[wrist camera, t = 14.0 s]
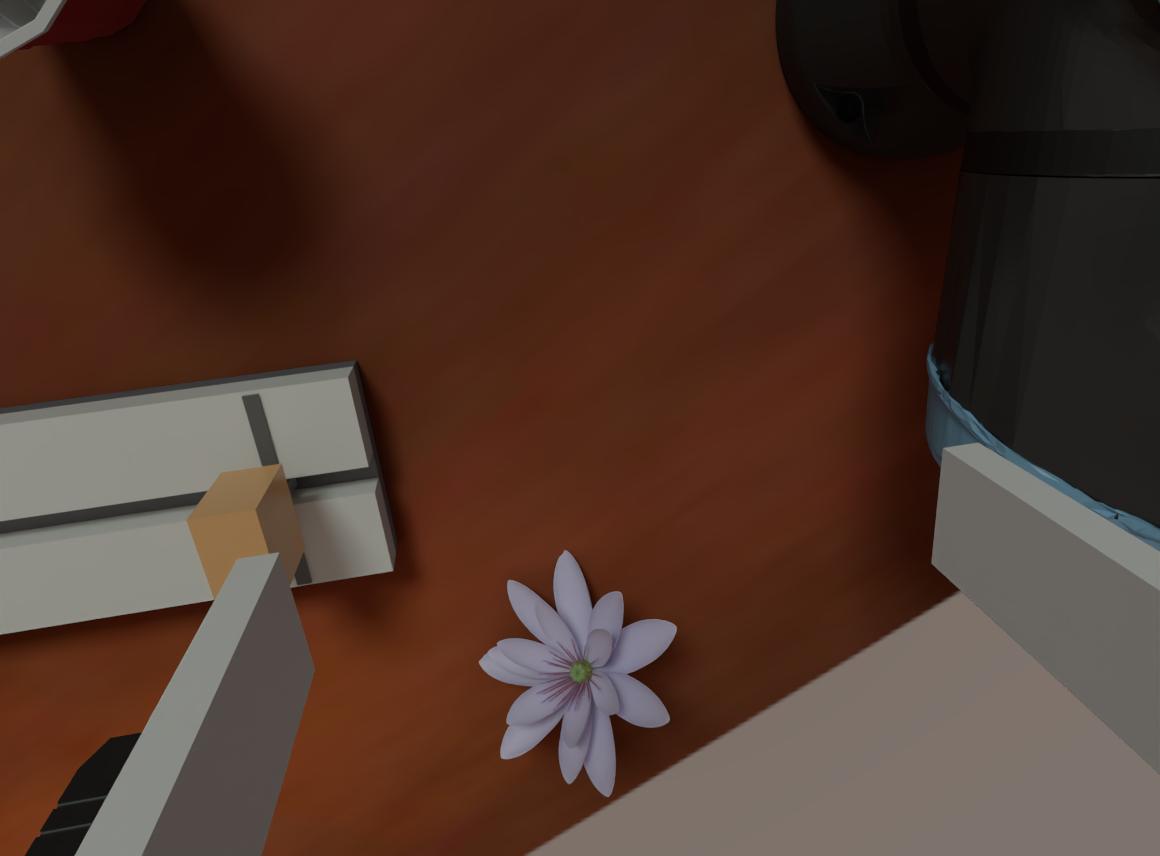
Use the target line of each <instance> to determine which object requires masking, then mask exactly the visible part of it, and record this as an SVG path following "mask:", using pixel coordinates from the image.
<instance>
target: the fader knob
mask: <svg viewBox="0 0 1160 856" xmlns="http://www.w3.org/2000/svg"><path fill="white" fill-rule="evenodd" d="M296 486H297V481H296V478H290V479H286V477H285V473H284V470H283V466H282V464H276V465H269V466H262V467H256V468H249V469H242V470H235V471H228V472H221V474H220V475H219V476H218V478H217V479H216V480H215V482H214V483H213V485H212V486H211V487H210V489H209V490H208V491H207V493H206V494H205V495H204V497H203V498H202V499H201V501H200V502H199V504H198V505H197V506H196V508H195V509H194V510H193V512H192V513H191V514H190V516H189V517H188V519H187V520H186V521H187V523H188V526H189V529H190V532H191V535H192V538H193V541H194V543H195V546H196V549H197V552H198V555H199V558H200V560H201V563H202V566H203V569H204V572H205V575H206V577H207V580H208V583H209V586H210V589H211V592H212V595H213V597H214V600H215V599H216V597H217V595H218V593H219V591H220V589H221V588H222V586H223V584H224V582H225V580H226V578H227V577H228V575H229V573H230V571H231V569H232V567H233V566H234V564H235V562H236V560H237V559H239V558H246V557H252V556H258V555H265V554H271V553H278V552H280V555H281V558H282V562H283V565H284V568H285V572H286V575H287V578H288V582H289V585H291V582H292V580H293V577H294V575H295V572H296V570H297V567H298V565H299V562H300V560H301V557H302V555H303V552H304V550H305V544H304V540H303V537H302V533H301V530H300V526H299V523H298V519H297V516H296V512H295V509H294V505H293V502H292V498H291V496H292V494H293V492H294V490H295V488H296Z"/></svg>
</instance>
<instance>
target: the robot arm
mask: <svg viewBox="0 0 1160 856" xmlns="http://www.w3.org/2000/svg"><path fill="white" fill-rule="evenodd" d="M776 33H777V43H778V49H779V55H780V59H781V64H782V67H783V70H784V74H785V77H786V79H787V82H788V84H789V87H790V89H791V91H792V93H793V95H794V97H795V99H796V101H797V102H798V104H799V106H800V107H801V109H802V110H803V112H804V113H805V114H806V116H807V117H808V118H809V119H810V120H811V122H812V123H813V124H814V125H815V126H816V127H817V128H818V129H819V130H820V131H822V132H823V133H824V134H825V135H826V136H828V137H829V138H830V139H832V140H833V141H835V142H836V143H838V144H840V145H841V146H843V147H846V148H848V149H850V150H852V151H855V152H858V153H861V154H865V155H869V156H874V157H882V158H900V159H915V158H925V157H932V156H936V155H940V154H944V153H948V152H951V151H954V150H957V149H960V148H962V147H964V153H963V160H962V166H961V169H960V174H959V180H958V187H957V194H956V200H955V207H954V214H953V220H952V227H951V234H950V240H949V247H948V254H947V260H946V267H945V274H944V280H943V287H942V294H941V300H940V307H939V314H938V320H937V327H936V334H935V340H934V343H933V344H931V345H930V347H929V350H928V353H927V364H926V366H927V371H928V375H929V387H928V399H927V412H926V423H925V431H926V438H927V443H928V446H929V449H930V451H931V453H932V455H933V457H934V459H935V460H936V462H937V463H938V464H939V466H940V467H941V473H940V483H939V493H938V503H937V512H936V522H935V532H934V542H933V552H932V562H931V564H933V565H934V566H935V567H936V568H937V569H938V570H939V571H940V572H941V573H942V574H943V575H944V576H946V577H947V578H948V579H949V580H950V581H951V582H952V583H953V584H954V585H955V586H956V587H957V588H958V589H960V590H961V591H962V592H963V593H964V594H965V595H966V596H967V597H968V598H969V599H971V600H972V601H973V602H974V603H975V604H976V605H977V606H978V607H979V608H980V609H981V610H982V611H984V613H986V614H987V615H988V616H989V617H990V618H991V619H992V620H993V621H994V622H995V623H996V624H998V625H999V626H1000V627H1001V628H1002V629H1003V630H1004V631H1005V632H1006V633H1007V634H1008V635H1010V636H1011V637H1012V638H1013V639H1014V640H1015V641H1016V642H1017V643H1018V644H1019V645H1020V646H1021V647H1023V649H1025V650H1026V651H1027V652H1028V653H1029V654H1030V655H1031V656H1032V657H1033V658H1034V659H1036V661H1038V662H1039V663H1040V664H1041V665H1042V666H1043V667H1044V668H1045V669H1046V670H1047V671H1048V672H1049V673H1051V674H1052V675H1053V676H1054V677H1055V678H1056V679H1057V680H1058V681H1059V682H1060V683H1061V684H1062V685H1064V686H1065V687H1066V688H1067V689H1068V690H1069V691H1070V692H1071V693H1072V694H1073V695H1075V697H1077V698H1078V699H1079V700H1080V701H1081V702H1082V703H1083V704H1084V705H1085V706H1086V707H1087V708H1089V709H1090V710H1091V711H1092V712H1093V713H1094V714H1095V715H1096V716H1097V717H1098V718H1099V719H1100V720H1101V721H1103V722H1104V723H1105V724H1106V725H1107V726H1108V727H1109V728H1110V729H1111V730H1112V731H1113V732H1114V733H1115V734H1117V735H1118V736H1119V737H1120V738H1121V739H1122V740H1123V741H1124V742H1125V743H1126V744H1127V745H1129V746H1130V747H1131V748H1132V749H1133V750H1134V751H1135V752H1136V753H1137V754H1138V755H1139V756H1140V757H1141V758H1143V759H1144V760H1145V761H1146V762H1147V763H1148V764H1149V765H1150V766H1151V767H1152V768H1153V769H1154V770H1156V771H1157V772H1158V773H1159V774H1160V0H777V2H776ZM314 671H315V668H314V665H313V661H312V658H311V655H310V651H309V648H308V645H307V641H306V638H305V635H304V631H303V628H302V625H301V621H300V618H299V615H298V611H297V608H296V605H295V601H294V598H293V595H292V592H291V588H290V585H289V582H288V578H287V575H286V572H285V568H284V565H283V562H282V558H281V555H280V552H278V553H271V554H265V555H258V556H252V557H246V558H239V559H237V560H236V562H235V564H234V566H233V567H232V569H231V571H230V573H229V575H228V577H227V578H226V580H225V582H224V584H223V586H222V588H221V589H220V591H219V593H218V595H217V597H216V599H215V600H214V602H213V604H212V606H211V608H210V609H209V611H208V613H207V615H206V617H205V619H204V620H203V622H202V624H201V626H200V628H199V630H198V631H197V633H196V635H195V637H194V639H193V641H192V642H191V644H190V646H189V648H188V650H187V651H186V653H185V655H184V657H183V659H182V661H181V662H180V664H179V666H178V668H177V670H176V672H175V673H174V675H173V677H172V679H171V681H170V682H169V684H168V686H167V688H166V690H165V692H164V693H163V695H162V697H161V699H160V701H159V703H158V704H157V706H156V708H155V710H154V712H153V714H152V715H151V717H150V719H149V721H148V723H147V724H146V726H145V728H144V730H143V732H142V733H137V734H131V735H125V736H120V737H114V738H110V739H109V740H108V741H107V742H106V743H105V744H104V745H103V746H102V747H101V748H100V749H99V750H98V751H97V752H96V753H94V754H93V755H92V756H91V757H90V758H89V759H88V760H87V761H86V762H85V763H84V764H83V765H82V766H81V767H80V768H79V769H78V770H77V772H76V773H75V775H74V777H73V778H72V780H71V782H70V783H69V785H68V786H67V788H66V790H65V791H64V793H63V795H62V796H61V798H60V799H59V801H58V807H57V809H53V811H52V812H51V814H50V816H49V817H48V819H47V820H46V822H45V824H44V825H43V827H42V829H41V830H40V831H41V835H40V837H37V838H35V840H34V841H33V843H32V845H31V846H30V848H29V850H28V851H27V853H26V854H25V856H261V855H262V852H263V848H264V845H265V841H266V838H267V834H268V831H269V828H270V824H271V821H272V817H273V814H274V810H275V807H276V803H277V800H278V796H279V793H280V789H281V786H282V782H283V779H284V776H285V772H286V769H287V765H288V762H289V758H290V755H291V751H292V748H293V744H294V741H295V737H296V734H297V730H298V727H299V723H300V720H301V717H302V713H303V710H304V706H305V703H306V699H307V696H308V692H309V689H310V685H311V682H312V678H313V675H314Z"/></svg>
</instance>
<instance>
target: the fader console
mask: <svg viewBox="0 0 1160 856" xmlns="http://www.w3.org/2000/svg"><path fill="white" fill-rule="evenodd" d="M276 464H282V466H283V470H284V473H285V477H286V479H290V478H296V481H297V486H296V488H295V490H294V492H293V494H292V496H291V498H292V502H293V505H294V509H295V512H296V516H297V519H298V523H299V526H300V530H301V533H302V537H303V540H304V544H305V550H304V552H303V555H302V557H301V560H300V562H299V565H298V567H297V570H296V572H295V575H294V577H293V580H292V582H291V585H290V588H292V587H298V586H304V585H310V584H316V583H322V582H329V581H335V580H341V579H347V578H353V577H360V576H366V575H372V574H378V573H384V572H391V571H393V569H394V563H395V557H396V551H397V546H398V541H397V537H396V532H395V528H394V523H393V519H392V515H391V510H390V506H389V501H388V497H387V493H386V488H385V484H384V479H383V475H382V471H381V466H380V462H379V457H378V453H377V449H376V444H375V440H374V435H373V431H372V427H371V422H370V418H369V413H368V409H367V405H366V400H365V396H364V391H363V387H362V383H361V378H360V374H359V369H358V365H357V361H356V360H354V361H347V362H340V363H332V364H325V365H317V366H310V367H302V368H295V369H287V370H280V371H273V372H265V373H258V374H250V375H243V376H235V377H228V378H221V379H213V380H206V381H198V382H191V383H183V384H176V385H168V386H161V387H154V388H146V389H139V390H131V391H124V392H116V393H109V394H101V395H94V396H87V397H79V398H72V399H64V400H57V401H49V402H42V403H35V404H27V405H20V406H12V407H5V408H0V635H1V634H7V633H13V632H19V631H25V630H32V629H38V628H44V627H50V626H56V625H63V624H69V623H75V622H81V621H87V620H93V619H100V618H106V617H112V616H118V615H124V614H131V613H137V612H143V611H149V610H155V609H162V608H168V607H174V606H180V605H186V604H192V603H199V602H205V601H211V600H214V597H213V595H212V592H211V589H210V586H209V583H208V580H207V577H206V575H205V572H204V569H203V566H202V563H201V560H200V558H199V555H198V552H197V549H196V546H195V543H194V541H193V538H192V535H191V532H190V529H189V526H188V523H187V521H186V520H187V519H188V517H189V516H190V514H191V513H192V512H193V510H194V509H195V508H196V506H197V505H198V504H199V502H200V501H201V499H202V498H203V497H204V495H205V494H206V493H207V491H208V490H209V489H210V487H211V486H212V485H213V483H214V482H215V480H216V479H217V478H218V476H219V475H220V474H221V472H228V471H235V470H242V469H249V468H256V467H262V466H269V465H276Z"/></svg>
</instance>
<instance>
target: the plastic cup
mask: <svg viewBox="0 0 1160 856" xmlns="http://www.w3.org/2000/svg"><path fill="white" fill-rule="evenodd" d="M146 1H147V0H0V59H2V58H3V57H5V56H7V55H8V54H10V53H12V52H14V51H16V50H21V49H29V48H31V47H33V46H37V45H48V44H59V43H70V42H81V41H89V40H90V39H92V38H95V37H105V36H111V35H113V34H114V33H116V32H118V31H119V30H121V29H123V28H124V27H126V26H128V25H129V24H131V23H132V22H133V21H135V19H136V17H137V16H138V14H139V12H140V11H141V9H142V7H143V6H144V4H145V3H146Z"/></svg>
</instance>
